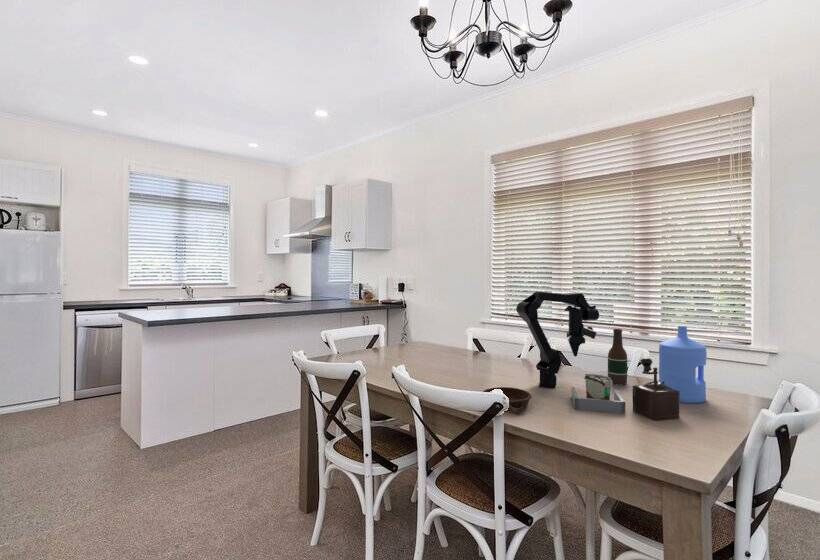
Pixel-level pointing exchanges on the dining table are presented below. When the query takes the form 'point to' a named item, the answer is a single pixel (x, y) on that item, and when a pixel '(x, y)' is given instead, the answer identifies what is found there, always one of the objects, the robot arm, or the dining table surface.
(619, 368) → the beer bottle
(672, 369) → the water jug
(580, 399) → the box
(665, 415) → the manual coffee grinder
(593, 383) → the food container
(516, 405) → the dish
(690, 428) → the dining table surface
